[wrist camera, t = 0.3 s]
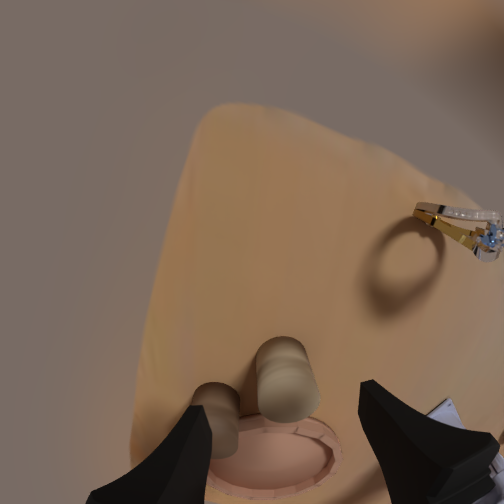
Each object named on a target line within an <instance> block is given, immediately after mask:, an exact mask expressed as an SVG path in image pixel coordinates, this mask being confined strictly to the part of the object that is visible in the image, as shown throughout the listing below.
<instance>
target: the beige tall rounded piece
mask: <svg viewBox="0 0 504 504" xmlns="http://www.w3.org/2000/svg"><path fill="white" fill-rule="evenodd" d="M256 373H257V396H258V408H259V411H260V413H261V414H262V415H263V416H264V417H265V418H267V419H268V420H270V421H273V422H277V423H293V422H297V421H300V420H303V419H305V418H307V417H308V416H310V415H311V414H312V413H313V412H314V411H315V410H316V409H317V407H318V406H319V403H320V393H319V390H318V387H317V384H316V380H315V377H314V374H313V371H312V368H311V365H310V362H309V359H308V356H307V353H306V351H305V348H304V346H303V345H302V344H301V343H300V342H299V341H298V340H296V339H294V338H291V337H286V336H280V337H275V338H272V339H270V340H268V341H266V342H265V343H263V344H262V345H261V346H260V348H259V349H258V351H257V354H256Z"/></svg>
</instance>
